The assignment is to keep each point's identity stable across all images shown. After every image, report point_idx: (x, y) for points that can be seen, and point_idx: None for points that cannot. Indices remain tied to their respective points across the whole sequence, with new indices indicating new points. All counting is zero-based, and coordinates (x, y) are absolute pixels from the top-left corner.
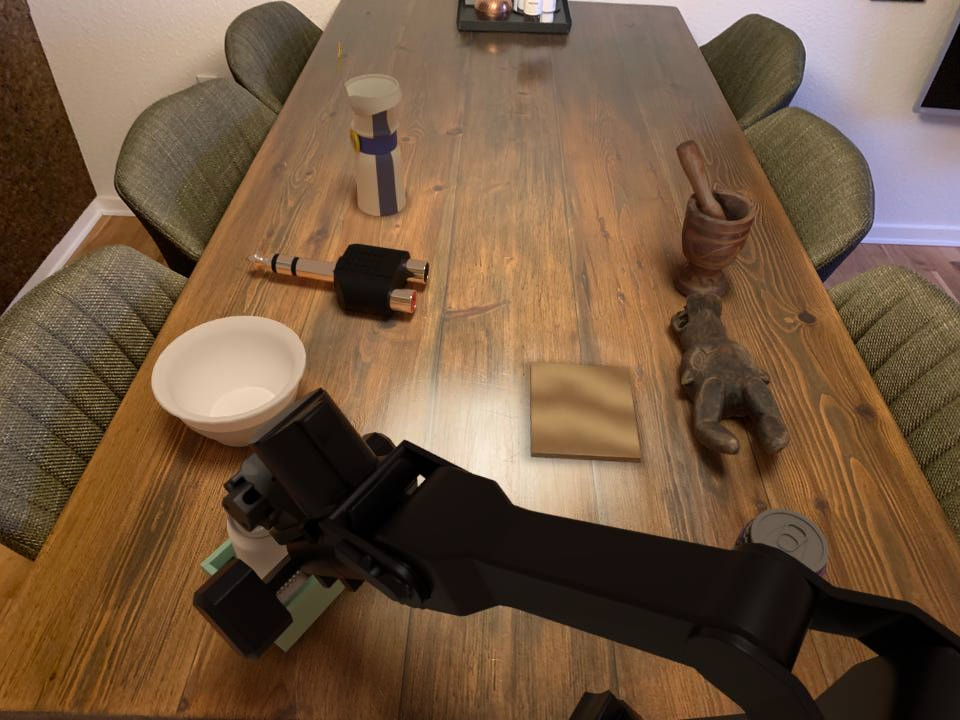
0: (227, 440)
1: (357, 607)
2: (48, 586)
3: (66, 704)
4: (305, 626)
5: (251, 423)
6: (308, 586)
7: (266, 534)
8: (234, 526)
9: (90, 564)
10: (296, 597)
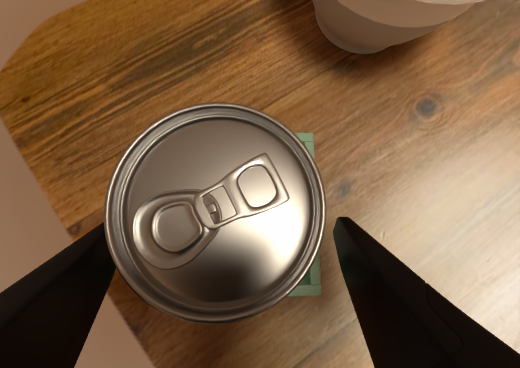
0: (322, 14)
1: None
2: (88, 17)
3: (12, 133)
4: None
5: (367, 8)
6: None
7: (161, 283)
8: (128, 180)
9: (129, 29)
10: None
